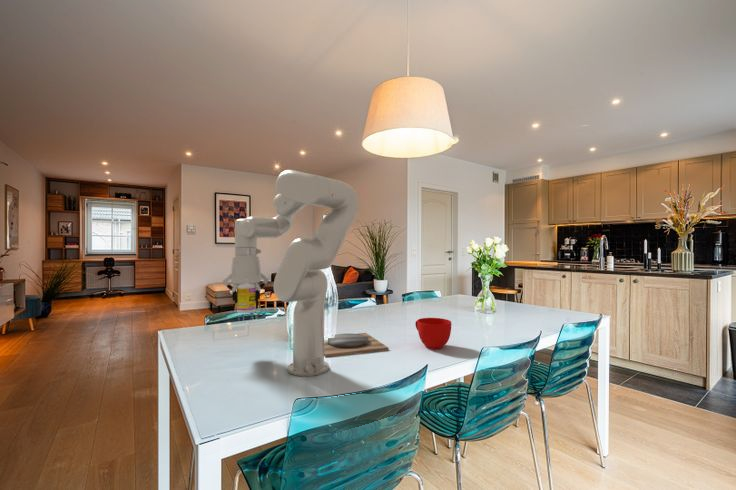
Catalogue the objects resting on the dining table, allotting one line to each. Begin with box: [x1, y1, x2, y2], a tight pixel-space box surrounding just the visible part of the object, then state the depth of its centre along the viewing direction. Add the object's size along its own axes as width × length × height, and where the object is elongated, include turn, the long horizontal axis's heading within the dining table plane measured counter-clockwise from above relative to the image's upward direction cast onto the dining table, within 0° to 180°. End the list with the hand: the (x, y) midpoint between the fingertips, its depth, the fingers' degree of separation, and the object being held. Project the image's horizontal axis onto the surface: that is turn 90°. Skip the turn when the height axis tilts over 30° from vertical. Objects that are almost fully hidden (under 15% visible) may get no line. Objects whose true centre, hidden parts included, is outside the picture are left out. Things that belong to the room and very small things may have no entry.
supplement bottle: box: [236, 279, 257, 314], centre depth 127 cm, size 7×7×13 cm
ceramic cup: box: [414, 317, 452, 350], centre depth 136 cm, size 13×17×10 cm
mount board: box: [324, 332, 390, 358], centre depth 137 cm, size 24×24×2 cm
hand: (246, 301), depth 127 cm, fingers closed on supplement bottle, 6 cm apart
